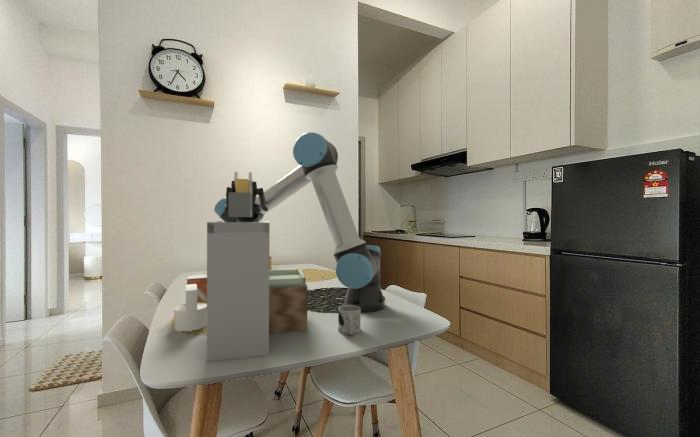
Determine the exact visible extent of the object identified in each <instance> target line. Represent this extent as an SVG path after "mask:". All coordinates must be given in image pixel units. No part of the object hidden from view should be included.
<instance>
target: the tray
mask: <svg viewBox="0 0 700 437" xmlns="http://www.w3.org/2000/svg"><path fill="white" fill-rule="evenodd" d="M306 282H307V281H306V276H305V274H304V273H303V271H302V269H301V268H289V269H288V268H287V269H285V268H284V269H282V268H281V269H269V288H285V287H304V286H306V285H307V283H306Z"/></svg>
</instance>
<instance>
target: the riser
mask: <svg viewBox="0 0 700 437" xmlns="http://www.w3.org/2000/svg"><path fill="white" fill-rule="evenodd" d="M302 331H308V285H307V284H306V286H304V287H285V288H269V335H270V334H279V333H280V334H281V333H291V332H302Z"/></svg>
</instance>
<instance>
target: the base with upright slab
mask: <svg viewBox="0 0 700 437" xmlns="http://www.w3.org/2000/svg"><path fill="white" fill-rule="evenodd" d="M173 312H174V316H173V317H174V318H173V320H174V322H173V325H174V328H173V330H174V331H175V332H179V333H181V331H190V332H193V331H192V330H196V331H198V330H197V329H199V330H202V329H204V328H206V327H207V304H206V303H197V284H189V285H187V284H185V303H184V304H180V305H177V306H175V307H174V311H173ZM205 326H206V327H205ZM203 327H204V328H203ZM201 328H202V329H201Z"/></svg>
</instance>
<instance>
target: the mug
mask: <svg viewBox="0 0 700 437" xmlns="http://www.w3.org/2000/svg"><path fill="white" fill-rule="evenodd" d="M337 312H338V315H337V316H338V318H337V320H338V324H337V325H338V327H337V329H338V330H337V331H338V333H340V334H343V335H356V334H359V333H360V332H361V318H362V317H361V314H362V313H361V312H362V311H361V308H360V307H359V306H355V305H345V304H344V305H340V306H339V307H338V311H337Z"/></svg>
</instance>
